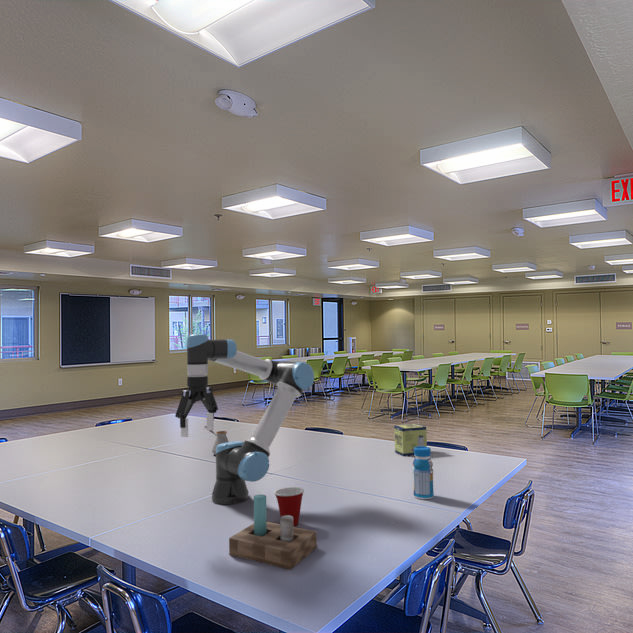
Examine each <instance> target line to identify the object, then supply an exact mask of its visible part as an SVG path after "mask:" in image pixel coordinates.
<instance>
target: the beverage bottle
mask: <svg viewBox="0 0 633 633" xmlns="http://www.w3.org/2000/svg"><path fill="white" fill-rule="evenodd" d="M431 453H432V450H431V447H429V446H427V447H425V446H418V447H415V448H414V455H413V456H414V457H415V458H414V459H413V461H412V466H413V467H412V478H413V479H412V481H413V482H412V483H413V496H414V498H415V499H419V500H431V499H433V498H434V496H435V494H434V493H435V492H434V468H433V466H434V463H433V461H432V460H431V456H432V454H431Z"/></svg>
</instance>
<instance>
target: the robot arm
mask: <svg viewBox="0 0 633 633" xmlns="http://www.w3.org/2000/svg"><path fill="white" fill-rule="evenodd" d="M208 337H209V336H208V335H207V334H189V335H187V339H186V360H187V361H186V366H187V367H186V373H187V377H186V386H187V388H188V390H184V389H183V390H182V391H181V397H180V400H179V404H178V407H177V410H176V412H175V415H174V416H175V418H177V419H179V427H180V437H182V438H188V437H189V418H187V417H188V415H189V413H190V412H191V409H192V408H193V406H194V404H195V403H197V402H199V401H200V402H201V403H202V404H203V407H204V408H205V409H206V411H207V412H206V426H207V428H206V431H209V430H212V431H214V421H215V414H216V413H217V411H218V410H219V407H218V404H217V401H216V399H215V395H214V393H213V387H211V386H208V385H209V377H208V374H209V363H208V362H209V361H211V362H215V363H217V364H220V365H223V366H226V367H229V368H233V369H236V370H239V371H241V372H246V373H248V374H251V375H254V376H258V378H259V380H263V381H265V382H268V383H271V384H273V385H275V386H276V387H277V389H276V392H275V393H274V396H273V397H272V399H271V401H270V402H269V404H268V406H267V408H266V410H265V411H264V412H263V415H262V417H261V419H260V420H259V422H258V424H257V425H256V428H255V430H254V431H253V433H252V435H251V436H250V438H248V439H247V438H246V439H245V440H244V441H242V440H240V441H239V440H237V441H235V440H234V441H229V442H227V443H222V444H219V445H217V447H216V455H215V473H216V474H215V483H214V486H213V490H212V493H211V501H212V502H213V503H215V504H220V505H231V504H232V505H233V504H239V503H242V502H244V501H247V500H248V499H249V497H250V496H249V495H250V494H249V493H250V492H249V489H248V486H247V482H250V483H251V482H252V483H253V482H257V481H260V480H261V479H263V478H264V477H265V476H266V475H267V473H268V472H269V469H270V456H271V451H270V447H271V445H272V444H273V441H274V439H275V438H276V436H277V434H278V433H279V430H280V428H281V426H282V425H283V423H284V420H286V418H287V415H288V414H289V411H290V409H291V408H292V405H293V403H294V402H295V401H296V400H295V399H297V398H300V397H301V395H302V394H303V392H304V390H308V389H310V388H312V386H313V384H314V381H315V374H314V370H313V367H312V366H311V365H310V364H309V363H307V362H304V361H288V360H287V361H286V360H285V361H284V360H280V361H279V360H272V359H269V358H266V359H262V358H259V357H257V356H254V355H250V354H248V353H245V352H243V351H239V350H238V349H237V348H238V347H237V343H236V341H235V340H234V339H230V338H229V339H228V338H226V339H220V338H219V339H209V338H208Z"/></svg>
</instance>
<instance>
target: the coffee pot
mask: <svg viewBox="0 0 633 633" xmlns="http://www.w3.org/2000/svg"><path fill="white" fill-rule="evenodd" d="M204 430H207V425H205V426H204ZM208 431H209V432H210V433H212V434H213V435H214V436H215V440H214V442H213V445H212V448H211V451H212V453H213V454H214V455H215V456H216V447H217V445H219V444H222V443H227V442H230V441H229V439H228V436H227V433H228V431H227V430H219V431H216V432H214V430H208Z"/></svg>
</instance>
